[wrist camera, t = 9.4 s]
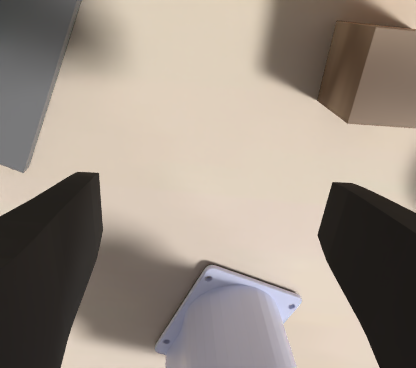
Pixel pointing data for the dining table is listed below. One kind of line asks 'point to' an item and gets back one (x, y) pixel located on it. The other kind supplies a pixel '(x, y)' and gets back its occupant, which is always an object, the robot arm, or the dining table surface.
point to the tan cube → (371, 75)
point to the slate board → (29, 70)
